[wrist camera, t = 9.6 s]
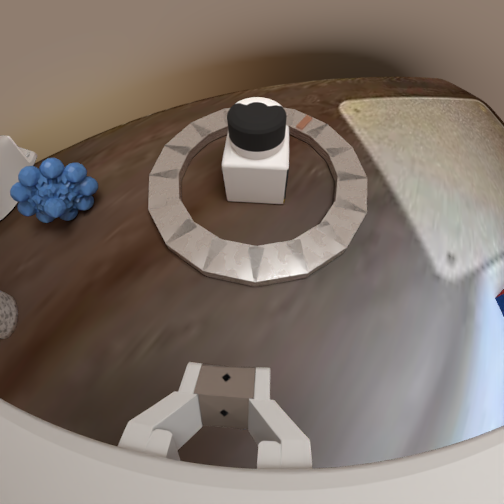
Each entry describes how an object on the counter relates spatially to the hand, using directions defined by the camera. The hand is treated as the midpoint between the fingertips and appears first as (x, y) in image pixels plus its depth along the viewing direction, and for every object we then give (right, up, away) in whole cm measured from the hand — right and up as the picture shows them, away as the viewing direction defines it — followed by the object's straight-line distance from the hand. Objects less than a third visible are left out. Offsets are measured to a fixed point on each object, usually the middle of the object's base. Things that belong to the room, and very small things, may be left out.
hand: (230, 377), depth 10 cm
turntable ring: (+2, +14, +28) cm, 31 cm away
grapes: (-24, +9, +26) cm, 37 cm away
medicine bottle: (+2, +14, +28) cm, 31 cm away
